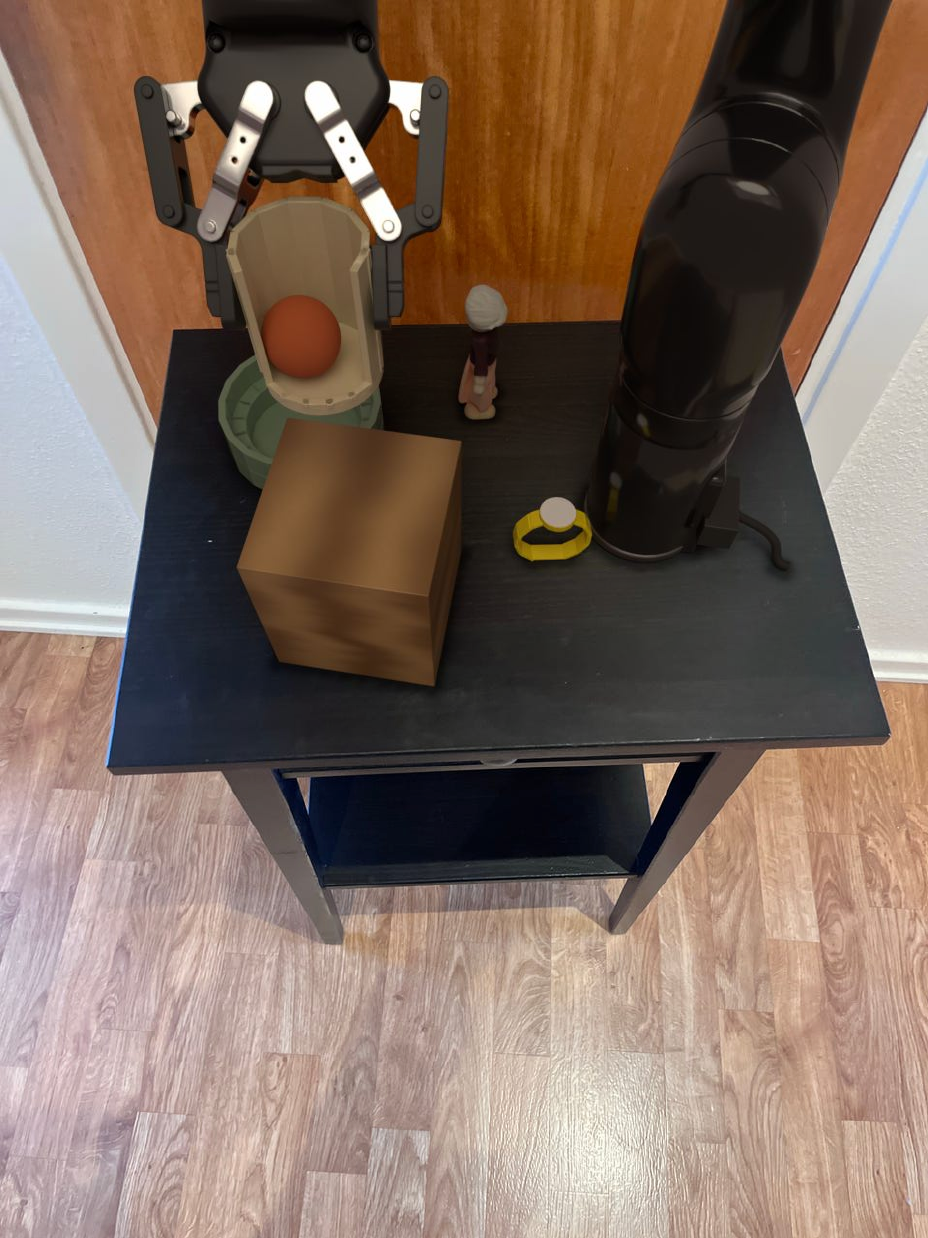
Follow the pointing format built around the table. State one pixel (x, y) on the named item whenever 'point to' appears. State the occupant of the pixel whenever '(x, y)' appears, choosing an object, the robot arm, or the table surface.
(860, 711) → the table surface
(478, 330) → the grandmother figurine
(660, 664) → the table surface
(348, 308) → the cup
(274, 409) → the bowl
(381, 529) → the stand
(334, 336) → the ball
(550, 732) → the table surface
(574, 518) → the watch
